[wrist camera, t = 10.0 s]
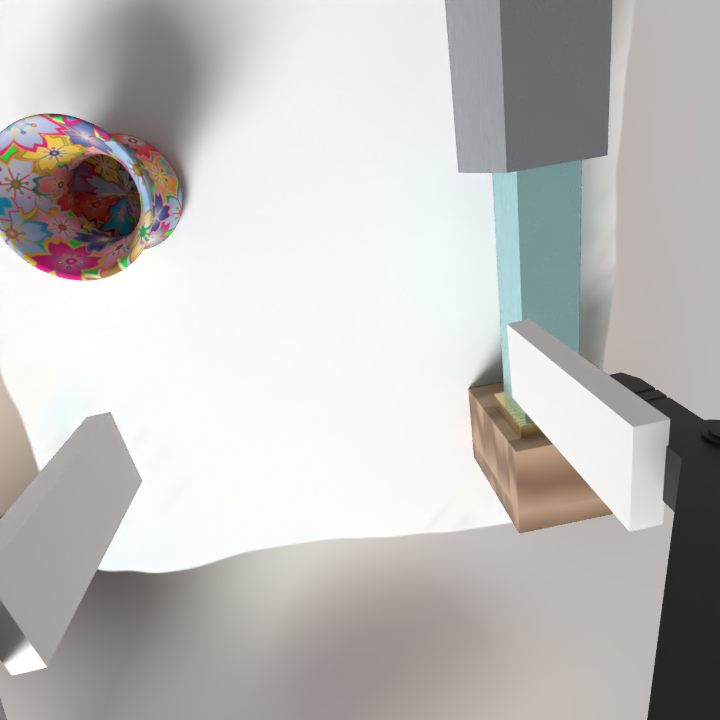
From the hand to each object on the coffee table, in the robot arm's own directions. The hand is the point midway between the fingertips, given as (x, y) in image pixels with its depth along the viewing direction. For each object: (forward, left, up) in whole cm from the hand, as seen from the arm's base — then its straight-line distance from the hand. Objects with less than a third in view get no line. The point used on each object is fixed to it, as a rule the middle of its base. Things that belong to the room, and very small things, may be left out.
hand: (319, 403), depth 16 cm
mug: (-8, -14, -28) cm, 32 cm away
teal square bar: (+6, +17, -23) cm, 29 cm away
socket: (+19, +17, -28) cm, 37 cm away
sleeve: (-13, +17, -28) cm, 35 cm away
